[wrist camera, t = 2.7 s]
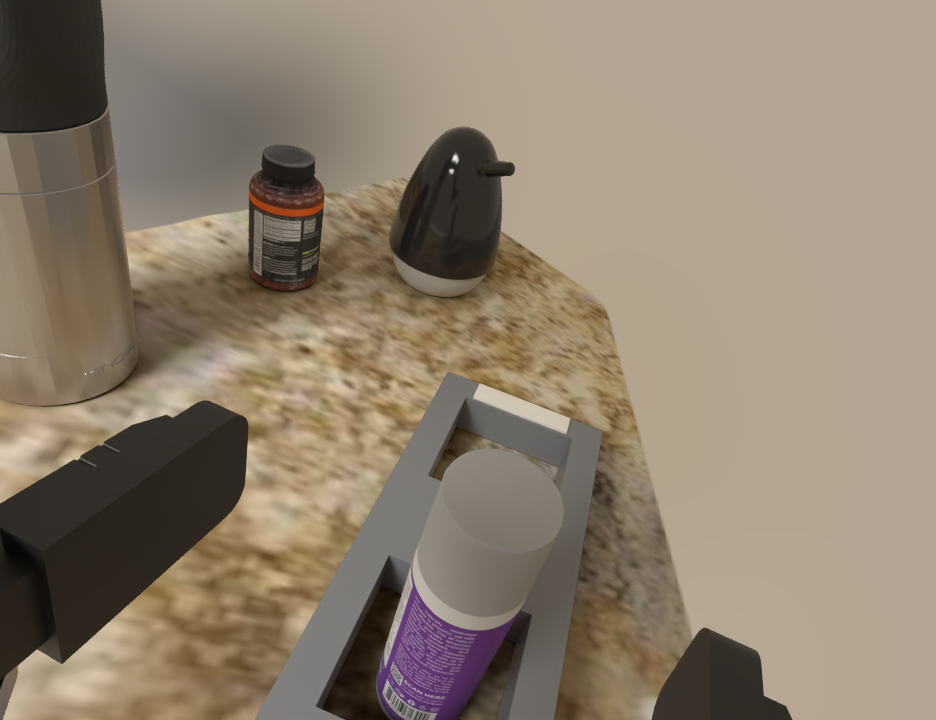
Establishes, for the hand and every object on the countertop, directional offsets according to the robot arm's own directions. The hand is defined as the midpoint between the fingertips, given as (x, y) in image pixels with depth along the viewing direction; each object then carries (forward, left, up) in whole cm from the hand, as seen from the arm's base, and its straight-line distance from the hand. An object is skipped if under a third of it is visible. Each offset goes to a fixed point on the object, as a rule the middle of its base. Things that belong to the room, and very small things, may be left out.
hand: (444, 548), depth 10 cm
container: (+1, +8, -23) cm, 24 cm away
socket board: (+1, +15, -22) cm, 27 cm away
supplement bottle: (-23, +36, -23) cm, 49 cm away
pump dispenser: (-11, +44, -23) cm, 51 cm away
